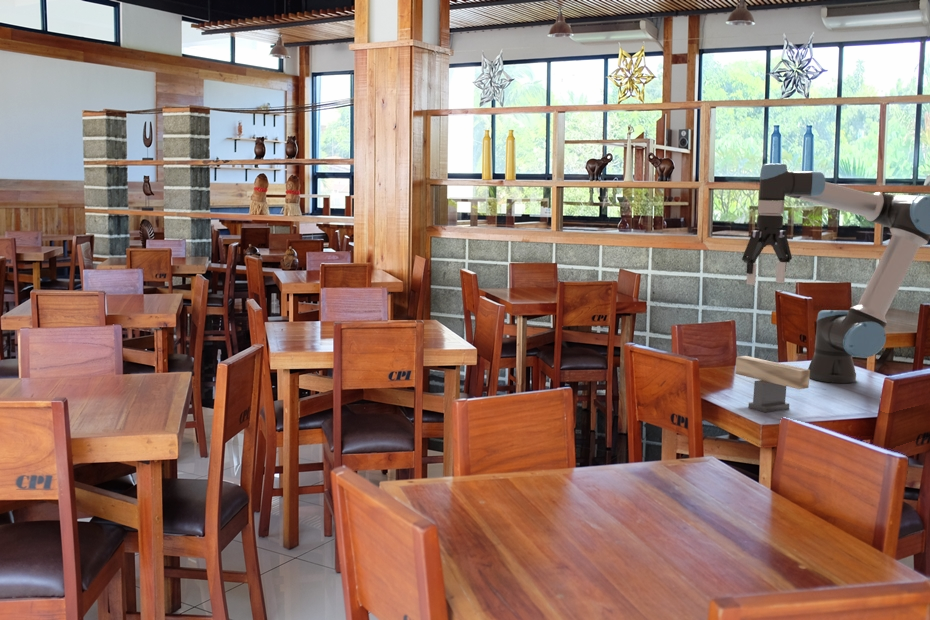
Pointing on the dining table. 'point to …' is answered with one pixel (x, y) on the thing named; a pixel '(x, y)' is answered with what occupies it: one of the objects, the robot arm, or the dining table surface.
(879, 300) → the robot arm
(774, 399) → the gray pedestal stand
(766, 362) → the ash bar
